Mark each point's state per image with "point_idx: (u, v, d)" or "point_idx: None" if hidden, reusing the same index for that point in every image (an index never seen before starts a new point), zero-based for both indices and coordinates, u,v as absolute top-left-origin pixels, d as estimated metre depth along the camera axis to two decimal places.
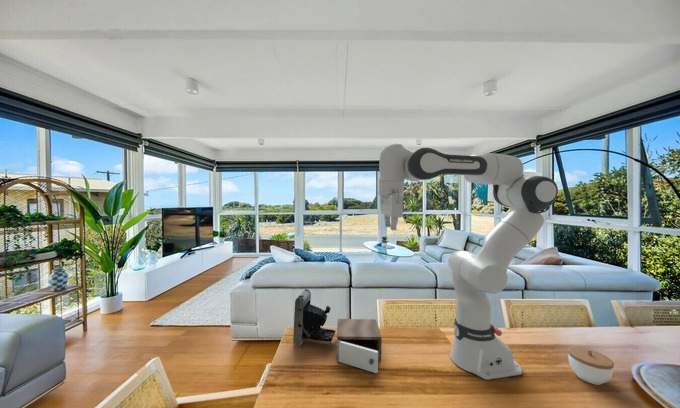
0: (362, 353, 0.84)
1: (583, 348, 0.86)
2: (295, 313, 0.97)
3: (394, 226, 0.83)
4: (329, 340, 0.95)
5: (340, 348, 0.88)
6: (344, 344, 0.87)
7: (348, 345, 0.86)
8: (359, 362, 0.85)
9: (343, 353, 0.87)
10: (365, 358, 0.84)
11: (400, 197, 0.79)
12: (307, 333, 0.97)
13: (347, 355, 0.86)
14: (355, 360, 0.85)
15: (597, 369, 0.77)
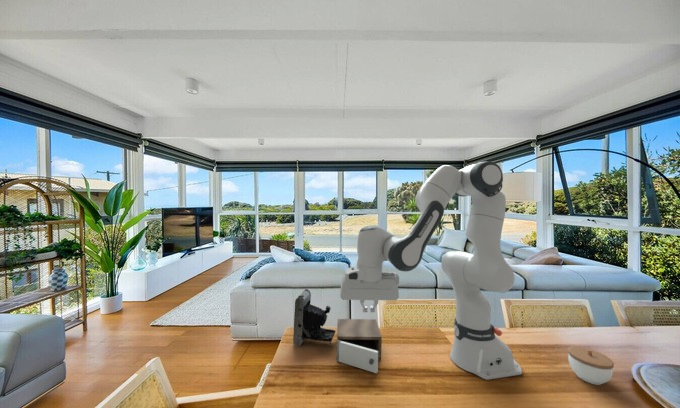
0: (362, 353, 0.84)
1: (583, 348, 0.86)
2: (295, 313, 0.97)
3: None
4: (329, 340, 0.95)
5: (340, 348, 0.88)
6: (344, 344, 0.87)
7: (348, 345, 0.86)
8: (359, 362, 0.85)
9: (343, 353, 0.87)
10: (365, 358, 0.84)
11: None
12: (307, 333, 0.97)
13: (347, 355, 0.86)
14: (355, 360, 0.85)
15: (597, 369, 0.77)
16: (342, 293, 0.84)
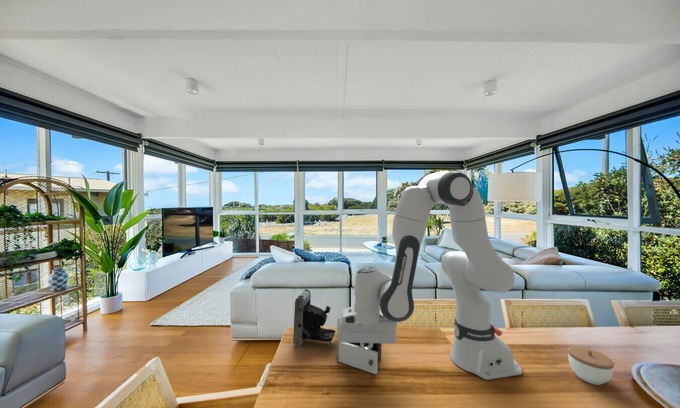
0: (362, 354, 0.84)
1: (583, 348, 0.86)
2: (295, 313, 0.97)
3: None
4: (329, 340, 0.95)
5: (340, 348, 0.88)
6: (344, 344, 0.87)
7: (348, 345, 0.86)
8: (359, 363, 0.84)
9: (343, 353, 0.87)
10: (365, 359, 0.83)
11: None
12: (307, 333, 0.97)
13: (346, 355, 0.86)
14: (355, 361, 0.85)
15: (597, 369, 0.77)
16: (339, 336, 0.84)
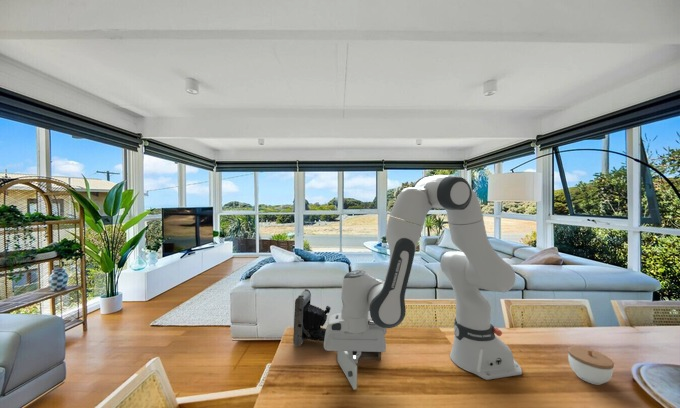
0: (347, 361, 0.80)
1: (583, 348, 0.86)
2: (295, 313, 0.97)
3: (357, 358, 0.81)
4: None
5: None
6: None
7: None
8: (346, 370, 0.81)
9: (339, 354, 0.86)
10: (348, 368, 0.79)
11: None
12: (307, 333, 0.97)
13: (340, 358, 0.85)
14: (344, 366, 0.82)
15: (597, 369, 0.77)
16: (325, 344, 0.79)
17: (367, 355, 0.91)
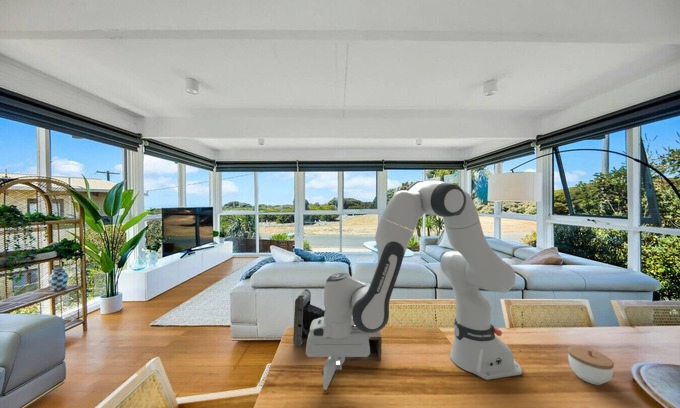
0: None
1: (583, 348, 0.86)
2: (295, 313, 0.97)
3: (341, 363, 0.79)
4: None
5: None
6: None
7: None
8: None
9: None
10: None
11: None
12: (307, 333, 0.97)
13: None
14: None
15: (597, 369, 0.77)
16: (307, 350, 0.76)
17: None
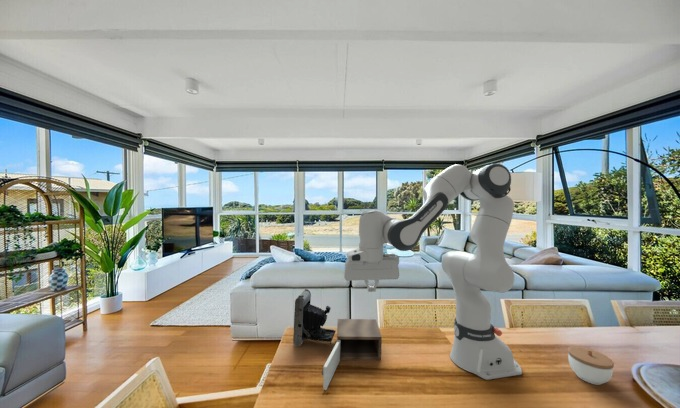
0: None
1: (583, 348, 0.86)
2: (295, 313, 0.97)
3: None
4: (329, 340, 0.95)
5: None
6: None
7: (334, 347, 0.85)
8: None
9: None
10: None
11: None
12: (307, 333, 0.97)
13: None
14: None
15: (597, 369, 0.77)
16: (346, 274, 0.89)
17: (367, 355, 0.91)
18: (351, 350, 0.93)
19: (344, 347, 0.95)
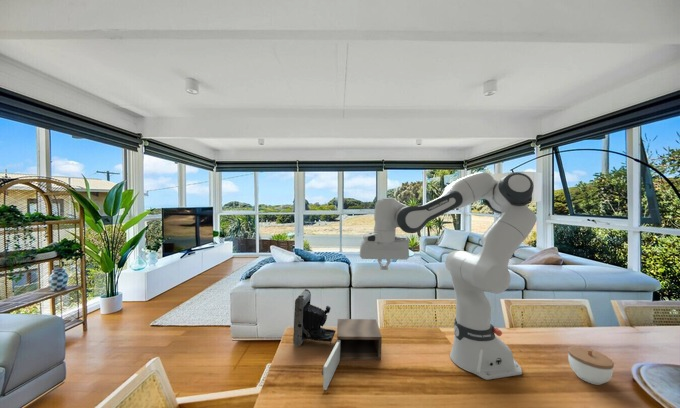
0: None
1: (583, 348, 0.86)
2: (295, 313, 0.97)
3: None
4: (329, 340, 0.95)
5: None
6: None
7: (334, 347, 0.85)
8: None
9: None
10: None
11: None
12: (307, 333, 0.97)
13: None
14: None
15: (597, 369, 0.77)
16: (362, 253, 1.01)
17: (367, 355, 0.91)
18: (351, 350, 0.93)
19: (344, 347, 0.95)
